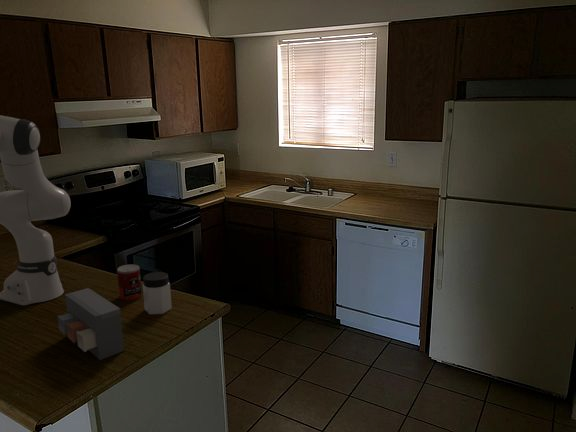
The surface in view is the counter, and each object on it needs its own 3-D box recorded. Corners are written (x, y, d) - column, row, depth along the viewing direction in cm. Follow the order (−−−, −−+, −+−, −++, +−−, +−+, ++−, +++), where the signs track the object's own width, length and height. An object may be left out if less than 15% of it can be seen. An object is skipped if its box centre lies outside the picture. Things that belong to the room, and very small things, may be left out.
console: (100, 360, 133) (95, 316, 130) (70, 334, 148) (65, 294, 145) (124, 350, 138) (120, 308, 135) (92, 326, 153) (88, 288, 149)
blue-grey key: (65, 334, 141) (63, 320, 140) (59, 329, 144) (57, 315, 143) (90, 325, 146) (89, 312, 145) (84, 321, 149) (83, 307, 148)
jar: (173, 303, 169) (171, 271, 166) (170, 313, 161) (167, 279, 158) (146, 304, 168) (144, 272, 165) (142, 315, 160) (139, 281, 157)
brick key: (74, 343, 136) (72, 328, 135) (68, 337, 139) (66, 323, 138) (100, 333, 141) (98, 319, 140) (93, 328, 144) (92, 315, 143)
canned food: (124, 303, 170) (122, 273, 167) (116, 296, 176) (113, 267, 173) (145, 297, 174) (143, 268, 172) (136, 290, 180) (134, 262, 178)
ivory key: (84, 352, 131) (83, 337, 130) (78, 346, 134) (76, 331, 133) (111, 342, 136) (109, 327, 135) (104, 336, 139) (103, 322, 138)
